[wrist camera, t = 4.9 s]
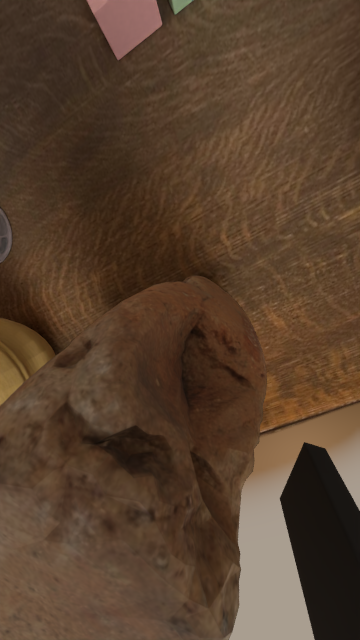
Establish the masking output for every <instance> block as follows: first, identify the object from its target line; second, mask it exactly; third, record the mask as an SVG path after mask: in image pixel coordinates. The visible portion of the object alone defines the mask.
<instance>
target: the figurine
mask: <svg viewBox="0 0 360 640" xmlns="http://www.w3.org/2000/svg"><path fill="white" fill-rule="evenodd" d="M11 245H12V230H11V226H10V223H9V220H8V218H7V216H6V214H5V213H4V211H3V210H2V209H1V207H0V263H2V262H3V261H4V260H5V259H6V257H7V256H8V254H9V252H10V249H11Z"/></svg>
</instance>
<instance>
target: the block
mask: <svg viewBox="0 0 360 640" xmlns="http://www.w3.org/2000/svg"><path fill="white" fill-rule="evenodd" d="M266 386H267V372H266V366H265V359H264V355H263V351H262V348H261V345H260V342H259V340H258V337H257V335H256V332H255V330H254V328H253V326H252V324H251V322H250V320H249V318H248V316H247V315H246V313H245V312H244V310H243V309H242V308H241V307H240V305H239V304H238V303H237V302H236V301H235V300H234V299H233V298H232V297H231V296H230V295H229V294H228V293H227V292H226V291H224V290H223V289H222V288H220V287H219V286H218V285H216V284H215V283H214V282H212V281H211V280H209V279H207V278H205V277H202V276H197V275H195V276H191V277H187V278H186V279H185V280H184V281H182V282H179V281H177V282H164V283H160V284H156V285H153V286H151V287H149V288H147V289H145V290H143V291H141V292H139V293H137V294H135V295H133V296H131V297H129V298H127V299H125V300H124V301H122V302H121V303H119V304H118V305H116V306H115V307H113V308H112V309H111V310H109V311H108V312H106V313H104V314H103V315H102V316H100V317H99V318H98V319H97V320H96V321H94V322H93V323H92V324H91V325H90V326H88V327H87V328H86V329H85V330H84V331H82V332H81V333H80V334H79V335H78V336H76V337H75V338H74V339H73V340H72V341H71V343H70V344H69V346H68V347H67V348H65V349H64V350H63V351H61V352H60V353H59V354H57V355H56V356H55V357H53V358H52V359H51V360H49V361H48V362H47V363H46V364H45V365H43V366H42V367H41V368H40V369H39V370H38V371H36V372H35V373H34V374H33V375H32V376H31V377H29V378H28V379H27V380H26V381H25V382H24V383H23V384H22V385H21V386H20V387H19V388H18V389H17V390H16V391H15V392H14V393H13V394H11V395H10V396H9V397H8V398H7V399H6V400H5V401H4V402H3V403H2V404H1V405H0V640H229V638H230V635H231V633H232V631H233V627H234V623H235V619H236V616H237V612H238V608H239V577H240V571H241V567H240V563H239V561H240V551H239V546H238V529H239V513H240V501H241V490H242V487H243V485H244V483H245V481H246V479H247V478H248V477H249V475H250V474H251V473H252V472H253V467H254V448H255V447H256V446H257V444H258V443H259V434H260V424H261V422H262V416H263V403H264V399H265V395H266Z"/></svg>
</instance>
